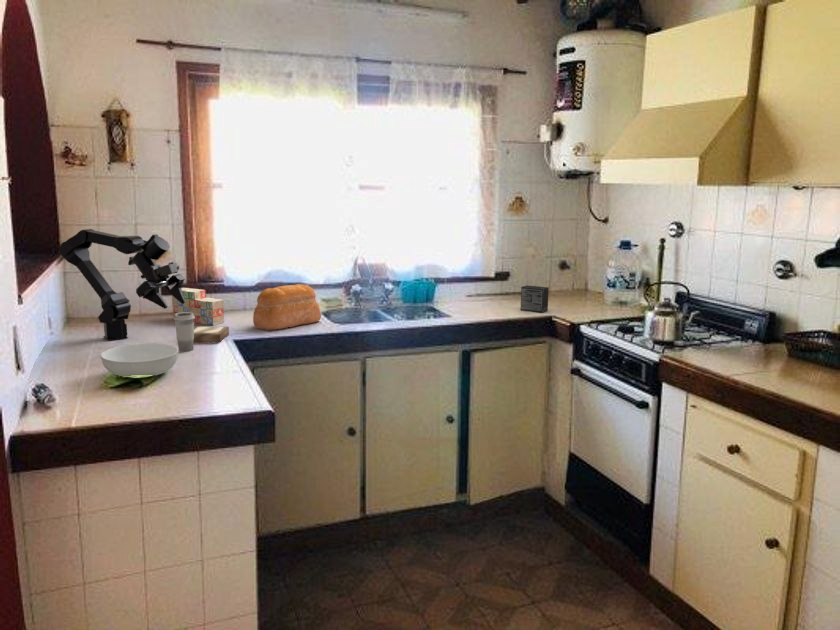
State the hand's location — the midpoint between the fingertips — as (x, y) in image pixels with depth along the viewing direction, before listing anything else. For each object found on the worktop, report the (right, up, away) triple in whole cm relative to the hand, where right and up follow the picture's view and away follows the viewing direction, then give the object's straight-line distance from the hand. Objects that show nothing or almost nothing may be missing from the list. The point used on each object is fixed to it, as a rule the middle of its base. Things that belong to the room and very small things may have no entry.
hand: (175, 305), depth 234 cm
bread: (+31, -7, +36) cm, 48 cm away
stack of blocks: (-5, -6, +40) cm, 40 cm away
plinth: (+7, -11, +11) cm, 18 cm away
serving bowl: (+2, -21, -32) cm, 38 cm away
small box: (+131, -1, +68) cm, 148 cm away
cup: (+5, -15, -4) cm, 16 cm away
